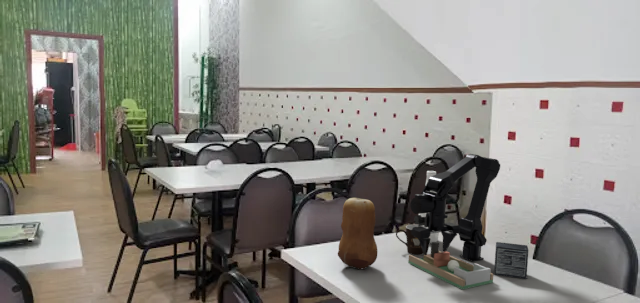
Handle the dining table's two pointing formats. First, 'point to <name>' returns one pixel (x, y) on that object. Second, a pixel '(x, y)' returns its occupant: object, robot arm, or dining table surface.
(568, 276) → the dining table surface
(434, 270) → the tray
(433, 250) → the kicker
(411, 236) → the coffee mug
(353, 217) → the butternut squash
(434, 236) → the alcohol
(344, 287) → the dining table surface
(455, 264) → the ball
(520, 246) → the small box
